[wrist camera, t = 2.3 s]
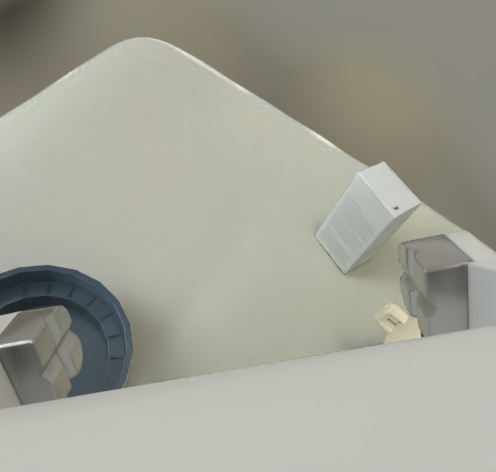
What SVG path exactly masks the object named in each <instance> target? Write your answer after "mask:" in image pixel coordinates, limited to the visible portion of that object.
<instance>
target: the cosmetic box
mask: <svg viewBox="0 0 496 472" xmlns="http://www.w3.org/2000/svg"><path fill="white" fill-rule="evenodd" d="M420 204H421V201H420V200H419V199H418V198H417V197H416V196H415V195H414V194H413V193H412V192H411V191H410V190H409V189H408V187H407V186H406V185H405V184H404V183H403V182H402V181H401V179H400V178H399V177H398V176H397V175H396V174H395V173H394V172H393V171H392V170H391V168H390V167H389V166H388V165H387V164H386V163H385V162H384V161H383V162H381V163H379V164H376V165H374V166H372V167H369V168H367V169H364V170H362V171H360V172H357V173H356V175H355V176H354V178H353V179H352V181H351V182H350V184H349V185H348V187H347V188H346V190H345V191H344V193H343V194H342V196H341V197H340V199H339V200H338V202H337V203H336V205H335V206H334V208H333V209H332V210H331V212H330V213H329V215H328V216H327V218H326V219H325V221H324V222H323V224H322V225H321V227H320V228H319V229H318V231H317V232H316V234H315V237H316V238H317V239H318V241H319V242H320V243H321V244H322V246H323V247H324V248H325V250H326V251H327V252H328V253H329V255H330V256H331V257H332V259H333V260H334V261H335V262H336V264H337V265H338V266H339V268H340V269H341V270H342V272H343V273H344V274H346V273H348V272H349V271H351V270H353V269H355V268H356V267H358V266H360V265H361V264H363V263H365V262H366V261H368V260H369V259H370V258H371V257H372V256H373V255H374V254H375V253H376V252H377V251H378V250H379V249H380V248H381V246H382V245H383V244H384V243H385V242H386V241H387V240H388V239H389V238H390V237H391V236H392V235H393V234H394V233H395V231H396V230H397V229H398V228H399V227H400V226H401V225H402V224H403V223H404V222H405V221H406V220H407V219H408V218H409V216H410V215H411V214H412V213H413V212H414V211H415V210H416V209H417V208H418V207H419V206H420Z"/></svg>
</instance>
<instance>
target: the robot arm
mask: <svg viewBox="0 0 496 472" xmlns="http://www.w3.org/2000/svg"><path fill="white" fill-rule="evenodd" d="M398 258H399V263H400V264H401V265H402V267H403V268H404V270H405V271H404V273H403V274H402V276H401V278H400V282H401V291H402V295H403V299H404V303H405V305H406V308H407V310H408V312H409V313H410V315H411V316H412V317H415V318H417V321H418V328H419V329H420V331H421V332H422V334H423V335H424V337H420V338H414V339H409V340H403V341H397V342H391V343H385V344H379V345H374V346H368V347H362V348H356V349H350V350H344V351H339V352H333V353H327V354H321V355H315V356H309V357H303V358H297V359H292V360H286V361H280V362H274V363H268V364H262V365H256V366H250V367H245V368H239V369H233V370H227V371H221V372H215V373H209V374H204V375H198V376H192V377H186V378H180V379H174V380H168V381H162V382H157V383H151V384H145V385H139V386H133V387H127V388H121V389H115V390H110V391H104V392H98V393H92V394H86V395H80V396H74V397H68V398H66V397H67V395H68V393H69V391H70V389H71V387H72V386H71V383H70V380H71V379H72V378H74V377H75V376H76V375H77V374H78V373H79V371H80V369H81V367H82V360H83V351H82V346H81V342H80V340H79V337H78V336H77V335H76V334H75V333H73V332H72V331H71V330H69V328H70V325H71V322H72V320H71V317H70V315H69V313H68V311H67V309H66V308H65V307H63V306H62V305H59V306H53V307H47V308H41V309H35V310H29V311H23V312H21V311H20V312H15V313H10V314H6V315H1V316H0V472H496V254H495V253H494V252H493V251H492V250H490V249H489V248H488V247H487V246H485V245H484V244H483V243H482V242H480V241H479V240H478V239H477V238H475V237H474V236H473V235H472V234H470V233H469V232H468V231H465V230H461V231H457V232H453V233H448V234H440V235H436V236H431V237H426V238H421V239H416V240H411V241H407V242H402V243H400V244H399V246H398Z"/></svg>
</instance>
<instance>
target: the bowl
mask: <svg viewBox="0 0 496 472" xmlns="http://www.w3.org/2000/svg"><path fill="white" fill-rule="evenodd" d="M59 305H62V306H63V307H65V308H66V309H67V311H68V313H69V315H70V317H71V320H72V322H71V325H70V328H69V330H71V331H72V332H73V333H75V334H76V335H77V336H78V337H79V340H80V342H81V346H82V351H83V360H82V367H81V369H80V371H79V373H78V374H77V375H76V376H75V377H74V378H72V379H71V380H70V383H71V386H72V387H71V389H70V391H69V393H68V395H67V397H66V398H68V397H74V396H80V395H86V394H92V393H98V392H104V391H110V390H115V389H121V388H126V386H127V381H128V377H129V372H130V368H131V360H132V341H131V332H130V324H129V322H128V319H127V317H126V315H125V313H124V311H123V309H122V307H121V305H120V303H119V301H118V300H117V299H116V298H115V297H114V296H113V295H112V294H111V293H110V292H109V291H108V290H107V289H106V288H105V287H104V286H103V285H102V284H101V283H100V282H99V281H97V280H95V279H93V278H91V277H89V276H87V275H85V274H83V273H81V272H79V271H77V270H73V269H67V268H62V267H56V266H51V265H43V266H31V267H19V268H16V269H13V270H10V271H7V272H4V273H1V274H0V316H1V315H6V314H10V313H15V312H20V311H21V312H23V311H29V310H35V309H41V308H47V307H53V306H59Z"/></svg>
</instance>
